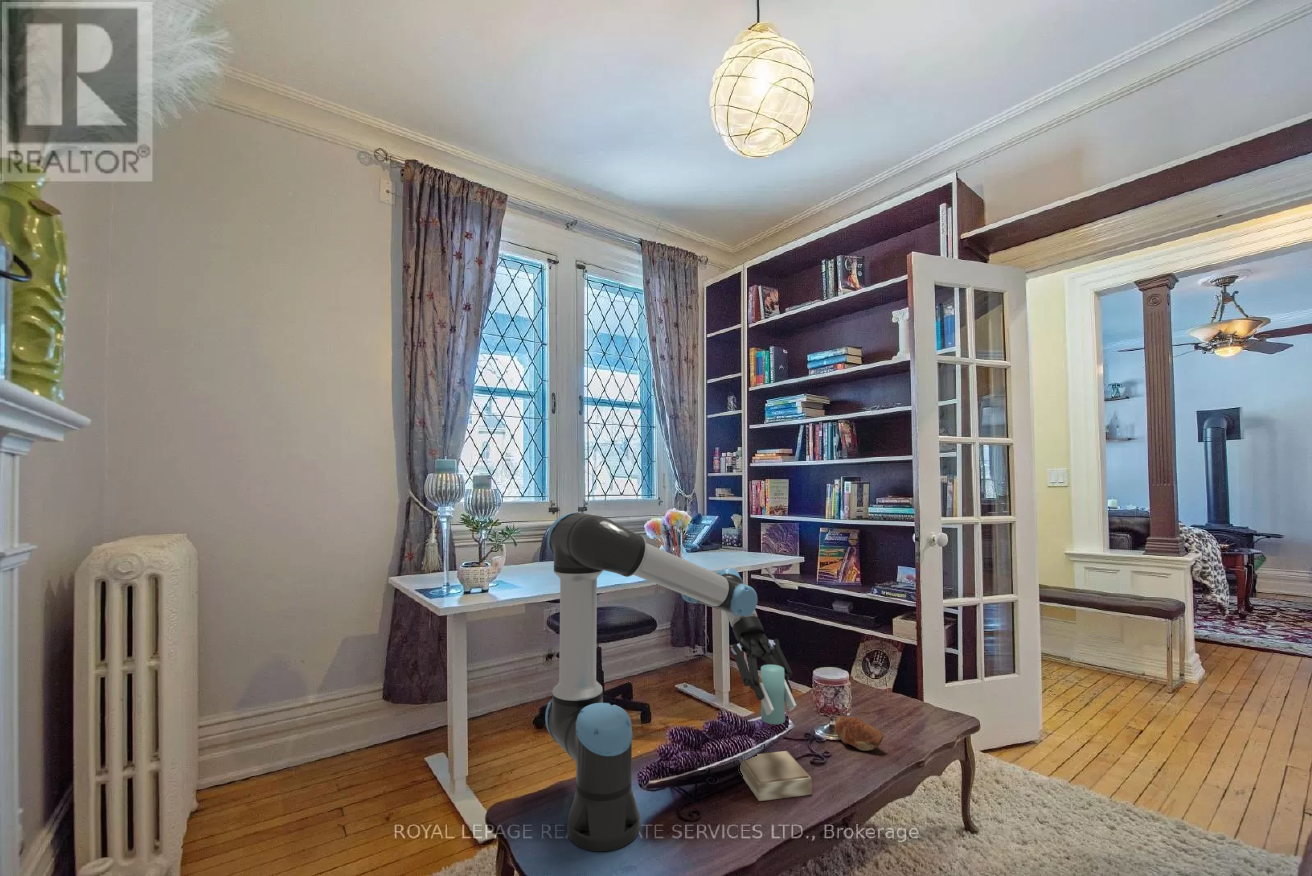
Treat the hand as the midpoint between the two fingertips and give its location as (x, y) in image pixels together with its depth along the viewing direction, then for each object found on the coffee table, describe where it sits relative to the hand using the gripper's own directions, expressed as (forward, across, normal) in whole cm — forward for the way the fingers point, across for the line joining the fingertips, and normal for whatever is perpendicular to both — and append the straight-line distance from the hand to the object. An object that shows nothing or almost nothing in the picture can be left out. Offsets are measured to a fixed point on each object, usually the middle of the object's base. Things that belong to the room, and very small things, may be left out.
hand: (781, 710), depth 134 cm
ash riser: (+10, 0, -16) cm, 19 cm away
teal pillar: (0, 0, -5) cm, 5 cm away
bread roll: (+5, -32, -21) cm, 39 cm away
